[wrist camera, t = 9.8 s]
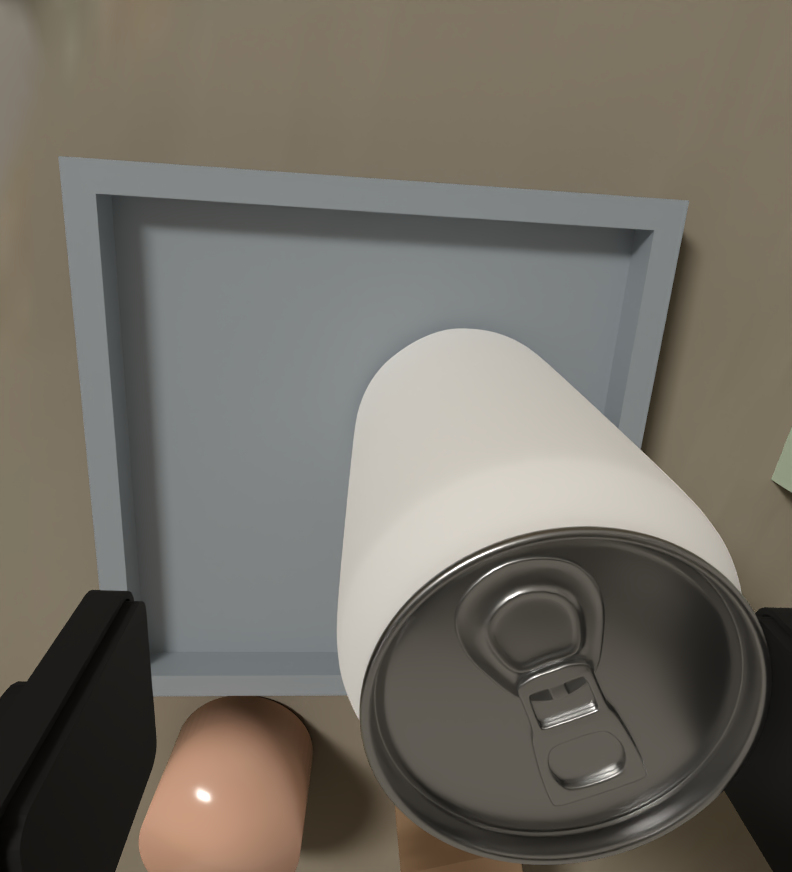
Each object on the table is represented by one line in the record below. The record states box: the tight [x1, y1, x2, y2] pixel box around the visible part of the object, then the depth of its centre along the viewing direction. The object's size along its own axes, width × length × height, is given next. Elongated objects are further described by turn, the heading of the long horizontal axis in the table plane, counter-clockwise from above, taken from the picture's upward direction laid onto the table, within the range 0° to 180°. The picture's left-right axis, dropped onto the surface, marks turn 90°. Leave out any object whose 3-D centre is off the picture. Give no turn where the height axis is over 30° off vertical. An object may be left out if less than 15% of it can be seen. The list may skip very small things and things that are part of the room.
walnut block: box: [395, 806, 523, 872], centre depth 25 cm, size 4×4×4 cm
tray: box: [58, 156, 689, 696], centre depth 20 cm, size 16×16×2 cm
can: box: [337, 328, 772, 865], centre depth 15 cm, size 6×6×12 cm
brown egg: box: [139, 696, 313, 872], centre depth 23 cm, size 5×5×4 cm
